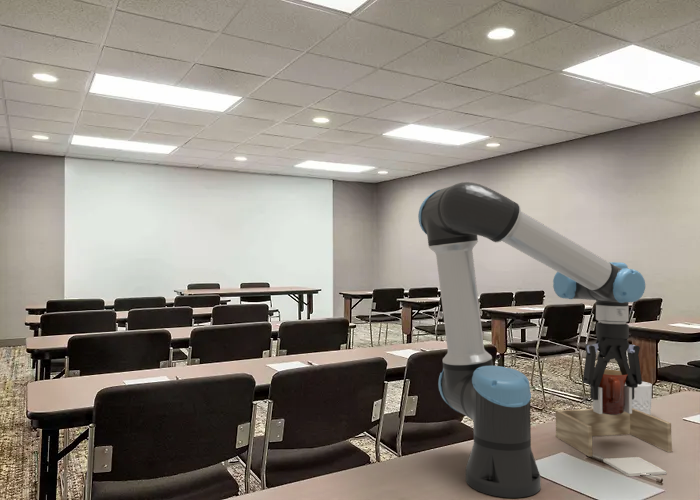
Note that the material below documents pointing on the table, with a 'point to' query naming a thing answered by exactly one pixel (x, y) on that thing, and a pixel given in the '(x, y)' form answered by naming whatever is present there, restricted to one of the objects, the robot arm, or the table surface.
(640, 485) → the table surface
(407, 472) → the table surface
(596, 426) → the bay
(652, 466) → the coaster
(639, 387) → the white cup
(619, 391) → the mug
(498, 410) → the robot arm
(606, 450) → the table surface
